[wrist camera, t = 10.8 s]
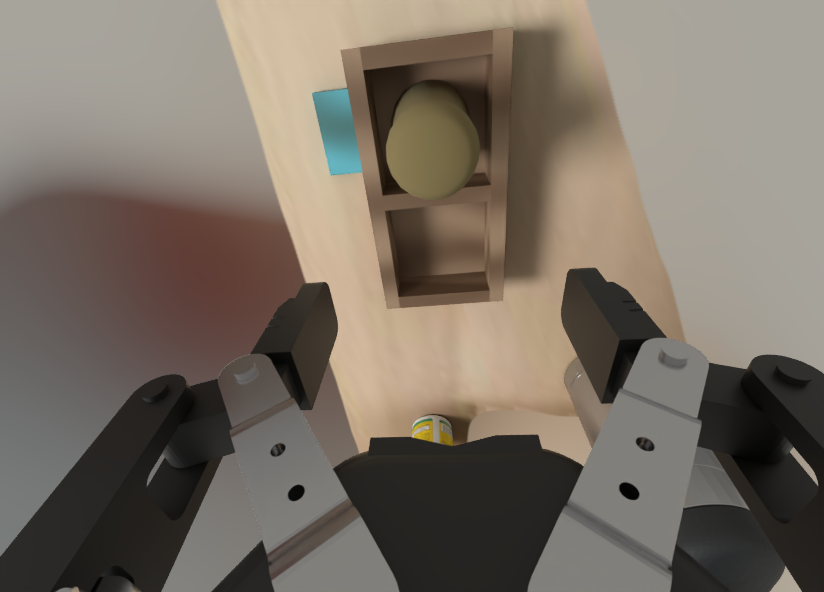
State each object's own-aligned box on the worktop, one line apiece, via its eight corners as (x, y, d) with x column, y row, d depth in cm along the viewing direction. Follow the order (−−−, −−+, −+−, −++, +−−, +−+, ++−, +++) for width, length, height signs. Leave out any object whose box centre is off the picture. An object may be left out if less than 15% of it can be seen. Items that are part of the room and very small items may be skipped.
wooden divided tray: (495, 277, 36) (503, 300, 33) (358, 288, 37) (352, 311, 34) (501, 30, 25) (513, 27, 22) (306, 56, 26) (289, 56, 23)
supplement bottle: (455, 416, 48) (461, 488, 40) (446, 440, 51) (450, 512, 43) (415, 410, 48) (414, 482, 40) (408, 435, 51) (405, 506, 43)
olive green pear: (413, 61, 26) (407, 67, 17) (485, 105, 27) (515, 132, 18) (378, 142, 29) (357, 185, 20) (444, 178, 30) (453, 233, 21)
